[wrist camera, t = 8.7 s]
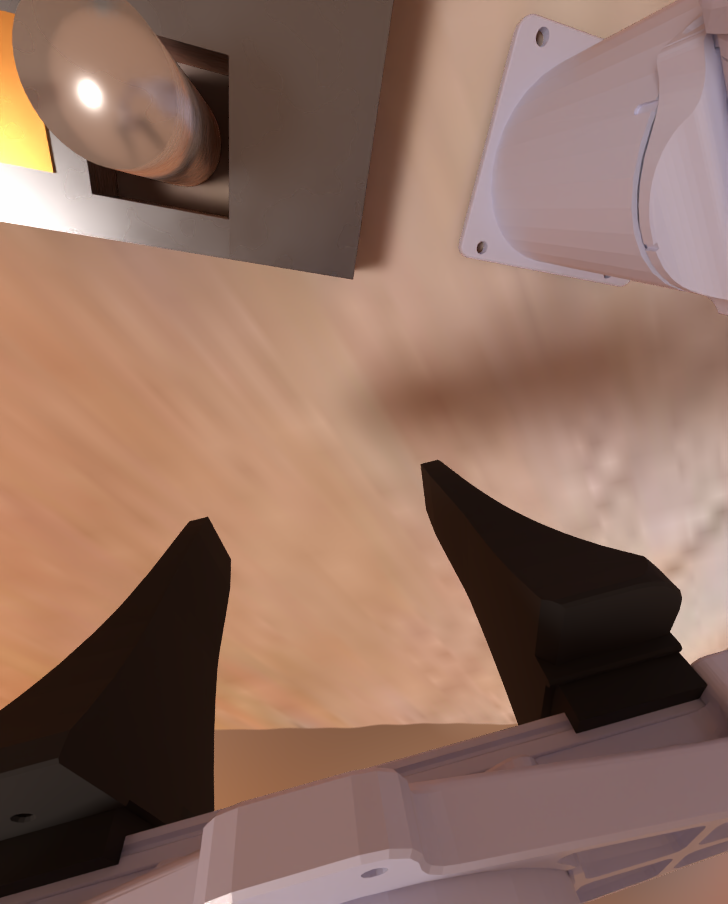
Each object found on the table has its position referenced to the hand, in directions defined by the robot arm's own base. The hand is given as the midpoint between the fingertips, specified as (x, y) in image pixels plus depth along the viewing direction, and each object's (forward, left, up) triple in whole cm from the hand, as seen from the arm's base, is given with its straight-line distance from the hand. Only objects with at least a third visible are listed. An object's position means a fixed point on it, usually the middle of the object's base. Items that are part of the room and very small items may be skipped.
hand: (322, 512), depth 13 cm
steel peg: (+6, -10, -9) cm, 15 cm away
